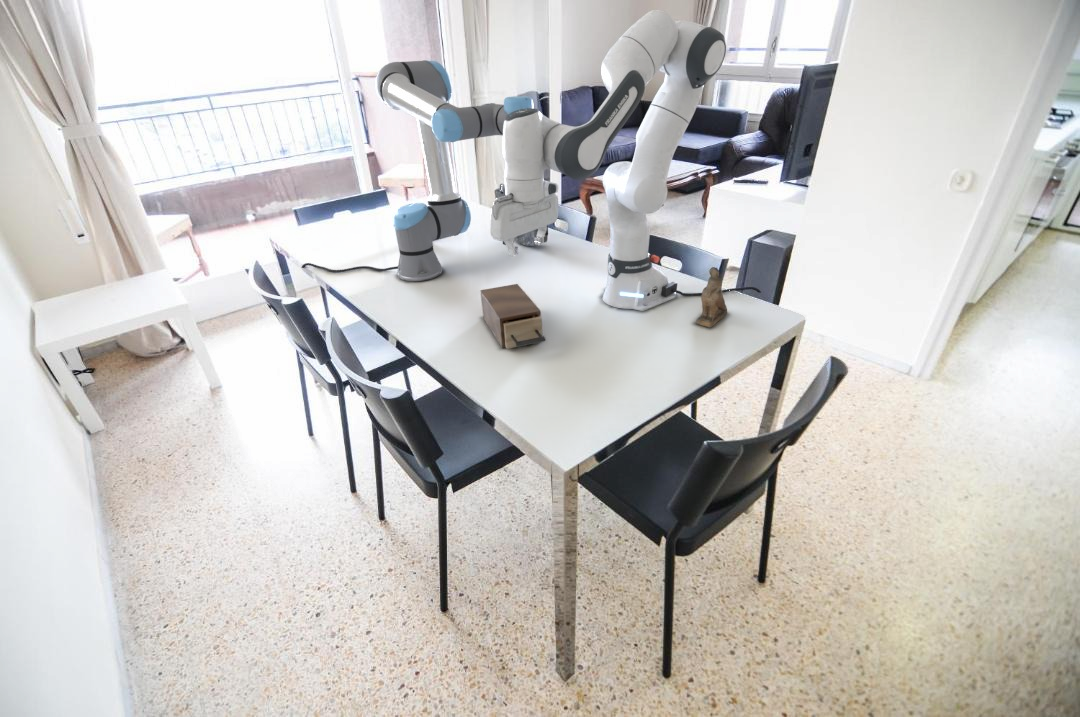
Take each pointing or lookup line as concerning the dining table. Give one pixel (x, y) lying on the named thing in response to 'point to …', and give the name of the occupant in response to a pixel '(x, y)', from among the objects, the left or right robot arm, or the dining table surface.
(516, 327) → the drawer
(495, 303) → the cabinet
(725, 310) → the worn brown figurine
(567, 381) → the dining table surface
